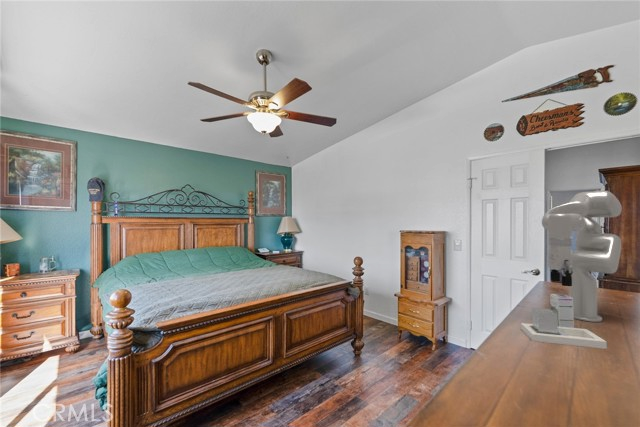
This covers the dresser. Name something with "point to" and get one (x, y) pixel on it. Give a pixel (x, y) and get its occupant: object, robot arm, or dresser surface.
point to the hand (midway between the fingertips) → (560, 283)
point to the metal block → (544, 321)
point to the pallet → (566, 337)
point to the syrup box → (563, 309)
